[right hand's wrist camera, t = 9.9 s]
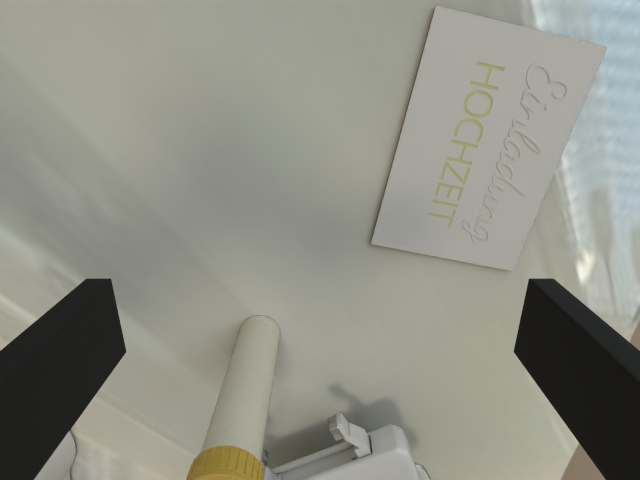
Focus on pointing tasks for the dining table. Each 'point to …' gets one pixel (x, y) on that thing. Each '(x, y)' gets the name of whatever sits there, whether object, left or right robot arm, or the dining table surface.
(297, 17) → the dining table surface
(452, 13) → the invitation card
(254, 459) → the lid
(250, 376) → the white cylinder
